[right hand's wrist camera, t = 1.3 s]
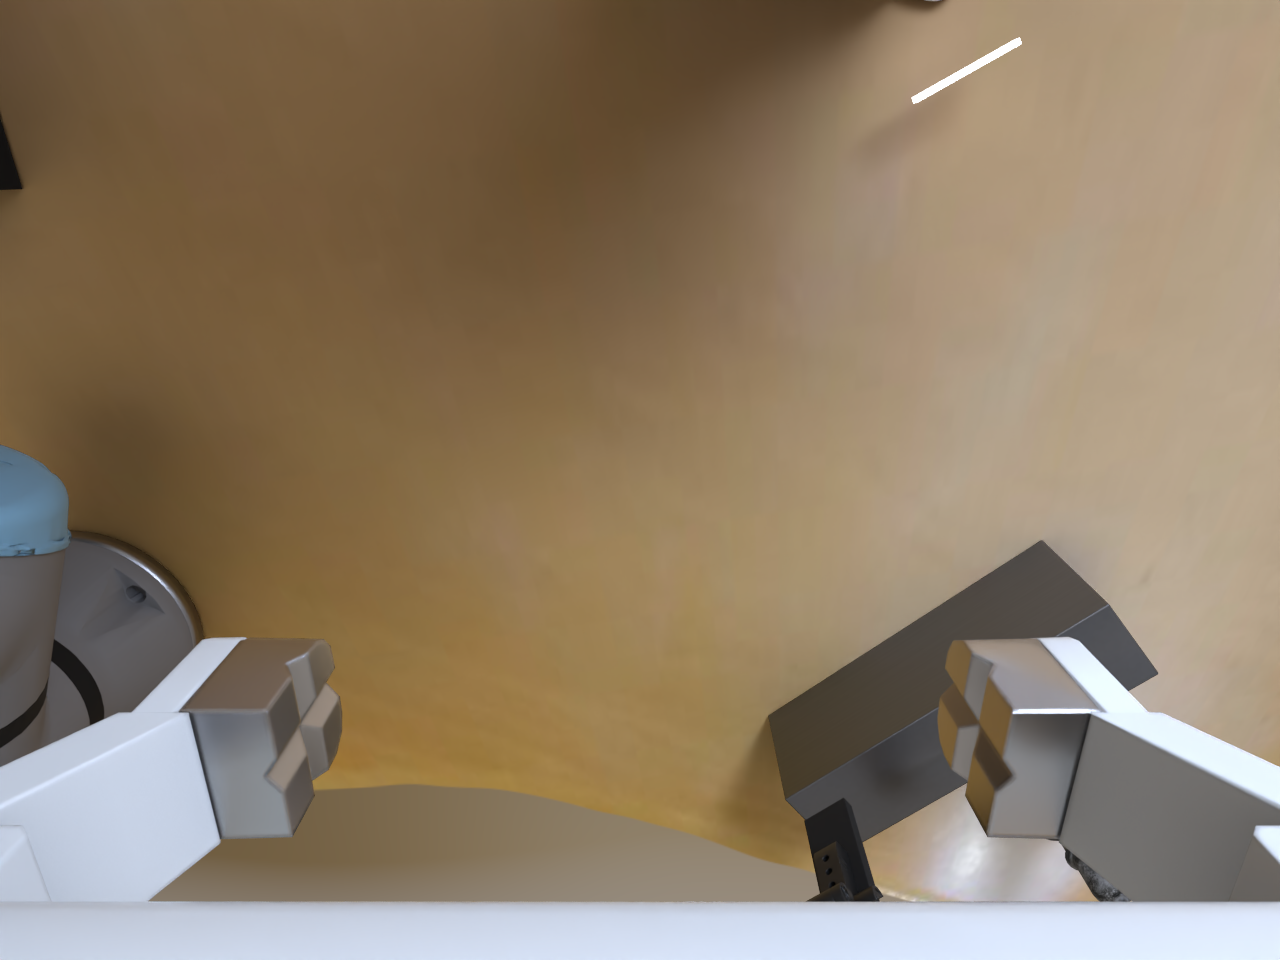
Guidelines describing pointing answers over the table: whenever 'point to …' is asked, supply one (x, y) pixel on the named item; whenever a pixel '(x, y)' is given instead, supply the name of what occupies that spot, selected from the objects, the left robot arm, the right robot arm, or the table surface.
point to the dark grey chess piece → (1094, 880)
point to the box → (930, 692)
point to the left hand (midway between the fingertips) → (894, 882)
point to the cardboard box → (7, 165)
